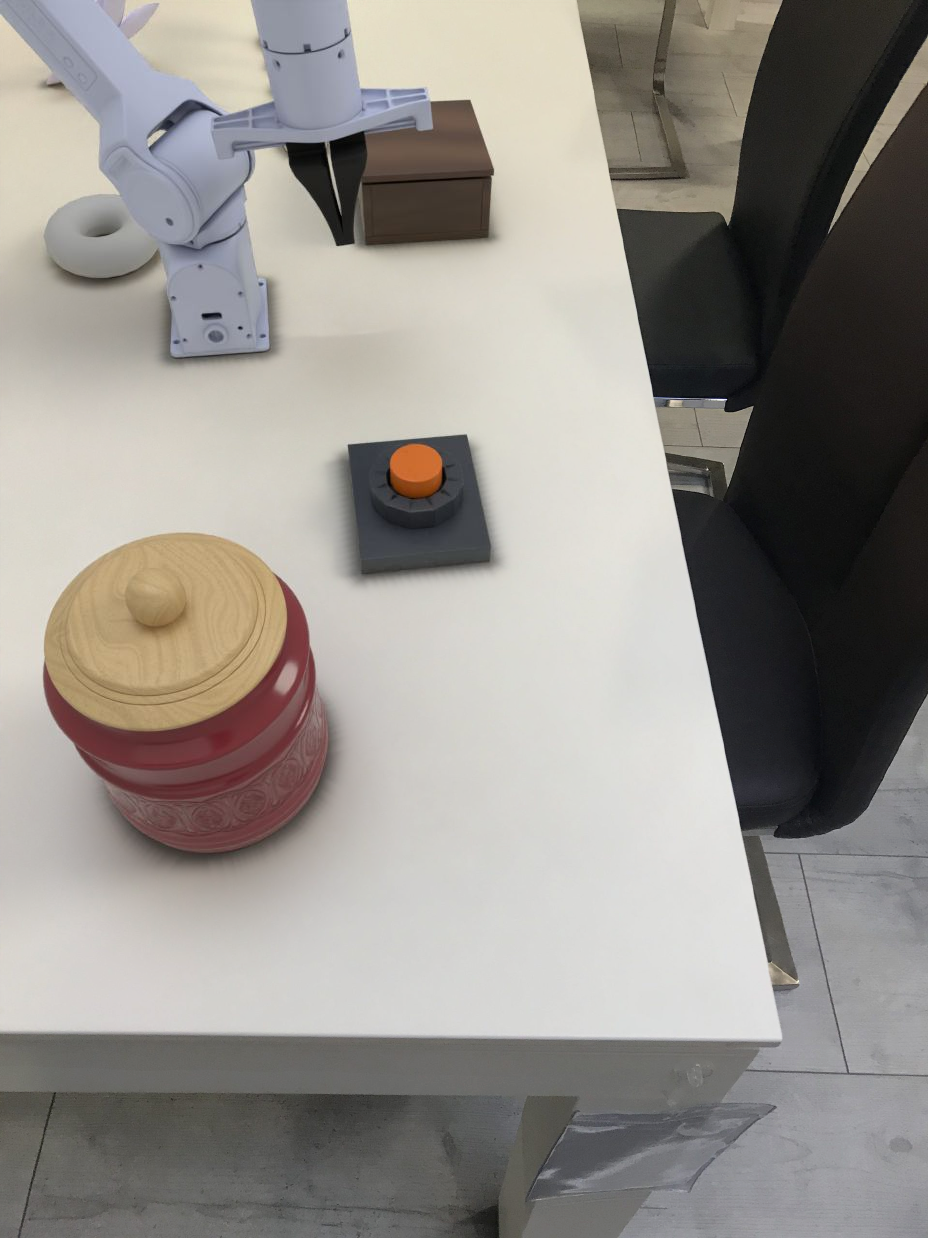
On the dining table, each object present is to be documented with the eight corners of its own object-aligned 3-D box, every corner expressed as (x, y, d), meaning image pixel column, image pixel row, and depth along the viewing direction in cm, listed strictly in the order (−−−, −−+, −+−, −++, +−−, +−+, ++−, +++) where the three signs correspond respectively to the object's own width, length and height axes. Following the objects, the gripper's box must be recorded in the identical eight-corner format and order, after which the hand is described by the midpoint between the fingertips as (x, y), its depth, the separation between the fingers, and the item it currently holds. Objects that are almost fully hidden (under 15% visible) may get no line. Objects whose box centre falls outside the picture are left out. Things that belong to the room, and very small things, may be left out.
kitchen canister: (125, 669, 58) (23, 479, 44) (329, 656, 59) (296, 466, 45) (98, 868, 51) (-34, 719, 36) (332, 850, 52) (294, 697, 37)
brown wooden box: (488, 237, 86) (491, 177, 81) (365, 244, 85) (361, 185, 80) (468, 164, 93) (470, 106, 88) (354, 170, 92) (349, 111, 87)
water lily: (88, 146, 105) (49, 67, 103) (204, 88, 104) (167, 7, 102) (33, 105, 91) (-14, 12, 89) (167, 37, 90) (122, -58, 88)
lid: (493, 175, 80) (494, 168, 80) (361, 182, 79) (361, 175, 78) (470, 105, 88) (470, 98, 88) (349, 111, 87) (349, 104, 86)
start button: (445, 496, 63) (445, 479, 62) (393, 501, 63) (392, 483, 61) (438, 458, 65) (438, 441, 64) (388, 463, 65) (387, 445, 63)
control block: (490, 562, 64) (492, 530, 61) (361, 575, 63) (358, 543, 60) (466, 449, 70) (467, 415, 67) (349, 460, 69) (345, 426, 66)
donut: (147, 292, 80) (178, 224, 85) (136, 257, 77) (169, 189, 83) (35, 282, 80) (73, 215, 86) (20, 247, 77) (60, 180, 83)
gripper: (414, -7, 59) (435, 195, 70) (192, 24, 59) (247, 223, 70) (426, 37, 55) (446, 245, 66) (187, 71, 55) (247, 275, 66)
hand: (344, 237), depth 68 cm, fingers closed
